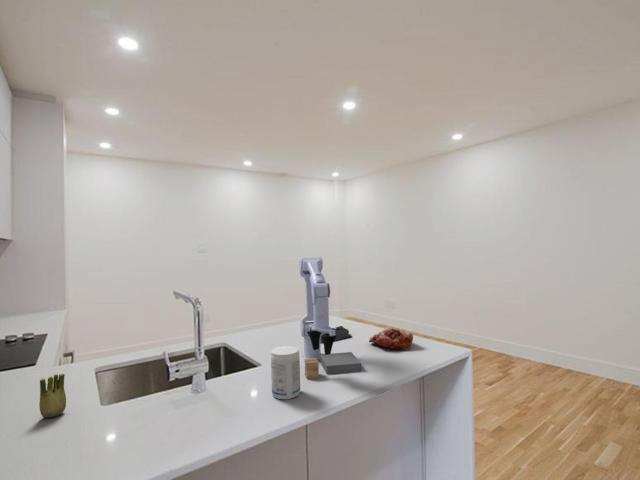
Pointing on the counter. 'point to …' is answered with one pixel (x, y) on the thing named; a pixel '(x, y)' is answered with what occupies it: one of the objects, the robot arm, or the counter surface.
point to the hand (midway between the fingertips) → (321, 351)
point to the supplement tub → (285, 372)
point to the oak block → (311, 368)
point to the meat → (393, 339)
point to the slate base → (340, 362)
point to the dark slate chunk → (339, 334)
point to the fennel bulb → (52, 396)
